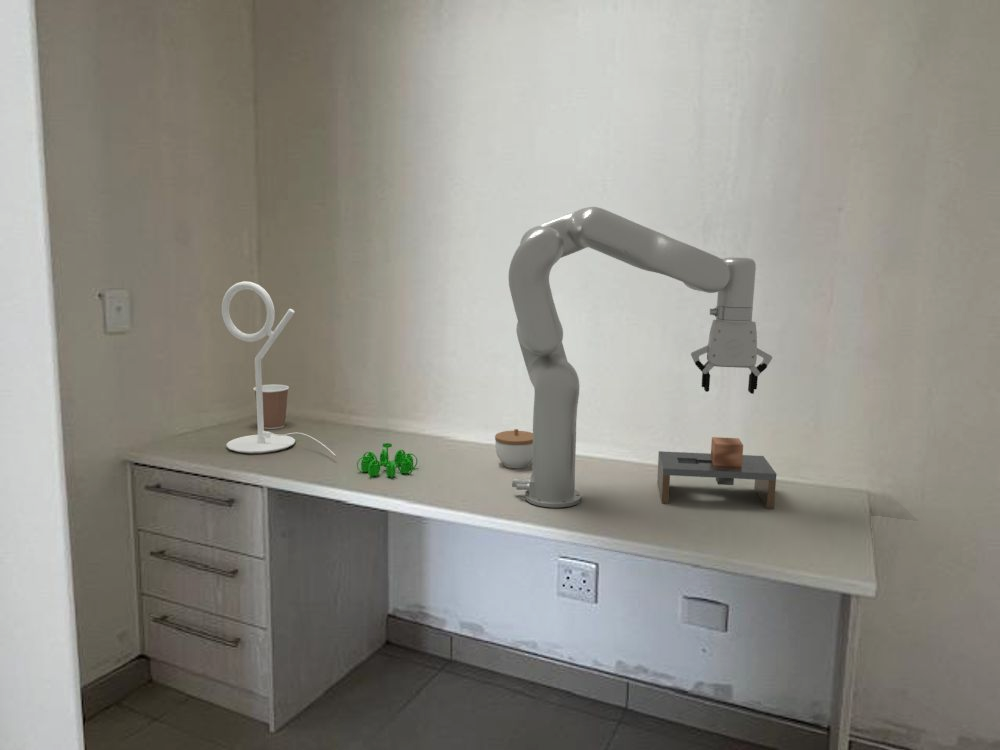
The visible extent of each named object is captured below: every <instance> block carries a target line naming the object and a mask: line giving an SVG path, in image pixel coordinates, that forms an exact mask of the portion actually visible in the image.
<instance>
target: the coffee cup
mask: <svg viewBox="0 0 1000 750" xmlns="http://www.w3.org/2000/svg"><path fill="white" fill-rule="evenodd" d="M289 388H290V387H289V385H285V384H262V396H263V420H264V430H277V429H282V428H284V427H285V424H286V418H287V417H286V415H287V407H288V406H287V405H288V395H289V392H288V390H289ZM252 389H253V390H252V391H254V396H255V397H254V398H256V386H254V387H253V388H252Z"/></svg>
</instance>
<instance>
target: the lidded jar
mask: <svg viewBox="0 0 1000 750" xmlns="http://www.w3.org/2000/svg"><path fill="white" fill-rule="evenodd" d="M494 439H495V440H494V441H495V452H496V455H497V457H498V459H499V461H500V463H502V464H503V466H504V467H506V468H509V469H523V468H527V467H528V465H529V464H530V463H531V462H532V457H533V432H530V431H524V430H519V428H514V430H505V431H499V432H497V433H496V434H495V435H494Z"/></svg>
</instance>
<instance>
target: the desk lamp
mask: <svg viewBox="0 0 1000 750" xmlns="http://www.w3.org/2000/svg"><path fill="white" fill-rule="evenodd" d="M243 290H250V291H252V292H255V293H256V294H257V295H259V296H260V298H261V299H262V301H263V303H264V305H265V310H266V318H265V323H264V324H263V326H262V328H261V329H260V330H259V331H256V332H255V333H245V332H243V331H241V330H240V329H239V328H238V327H236V325H235V324H234V322H233V320H232V318H231V315H230V305H231V301H232V299H233V297H234V296H235V295H236V294H237V293H238V292H240V291H243ZM295 313H296V312H295V310H294V309H292V308H289V309H288V310H287V311H286V313H285V314H284V315H283V317H282V319H281V320H280V321H279V323H278V325H277V326H276V327H275V328H274V330H272V328H273V326H274V322H275V318H276V317H275V315H276V313H275V305H274V302H273V300H272V298H271V295H270V294H269V293H268V292H267V290H266V289H265V288H264V287H262V286H261V285H260V284H258V283H255V282H252V281H247V280H246V281H245V280H244V281H241V282H236V283H235V284H233V285H232V286H230V287H229V288H228V289H227V291H226V292H225V293H224V296H223V297H222V302H221V317H222V320H223V323H224V325H225V328H226V329H227V330H228V331H229V332H230V334H231V335H232V336H234V337H235V338H236V339H238V340H240V341H244V342H248V343H249V342H250V343H252V342H258V341H260V340H261V339H263V338H265V337H266V336H267V337H268V339H267V340H266V341H265V342H264V344H263V345H262V347H261V348H260V350H259V351H258V353H257V354H256V356H255V358H254V374H255V378H254V379H255V387H256V397H255V402H256V416H257V417H256V421H257V424H256V425H257V434H252V435H244V436H240V437H237V438H233V439H232V440H229V441H228V442H227V443H226V445H225V446H226V448H227V449H228V450H230V451H234V452H237V453H242V454H251V455H252V454H266V453H267V454H268V453H274V452H275V453H276V452H278V451H282V450H285V449H287V448H289V447H291V446H293V445H295V442H296V439H295V438H293V436H289V435H296V434H297V435H298V434H299V435H302V436H303V435H304V436H306V437H308V438H311V439H313V440H314V441H316V442H317V443H319V444H320V445H321V446H323V447H324V448H325V449H327V450H328V451H329V453H331V454H332V455H333V456H334V457H335V458H336V457H337V455H336V454H335V453H334V452H333V451H332V450H331V449H330V448H329V447H327V445H325V444H323V443H322V442H321V441H319V440H318V439H316V438H315V437H312V436H311V435H308V434H305V433H303V432H297V431H296V432H290V433H285V434H276V433H273V432H271V431H268V430H265V429H264V420H263V396H262V385H263V380H262V379H263V377H262V375H263V374H262V360H263V358H264V357H265V355H266V353H267V352H268V351H269V349H270V348H271V347H272V345H274V342H275V341H276V340H277V338H278V337H279V336H280V334H281V333H282V331H283V330H284V328H285V327H286V326H287V324H288V323H289V322H290V320H291V318H292V317H293V315H294V314H295Z"/></svg>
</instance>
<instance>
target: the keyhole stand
mask: <svg viewBox="0 0 1000 750" xmlns="http://www.w3.org/2000/svg"><path fill="white" fill-rule="evenodd" d="M671 476H677V477H693V478H694V477H695V478H697V477H698V478H715V479H716V478H734V480H735V479H737V480H738V479H739V480H743V479H744V480H754V487H753V489H754V490H755V492H756V494H757V495H758V496H759V498H760V500H761V502H762V504H763V505H764V507H765V509H766V510H775V499H776V498H775V497H776V495H775V494H776V488H777V487H776V485H777V473H776V471H775V470H774V469H773V467H772V465H771V464H770V463H769V462H768V460H767V459H766V458H765V456H764V455H750V454H749V455H748V454H743V457H742V467H731V466H714V465H713V462H712V460H711V453H707V452H706V453H704V452H703V453H702V452H687V451H686V452H684V451H682V452H680V451H658V457H657V478H656V479H657V480H656V484H657V490H658V494H659V497H660V501H661V502H660V503H661V504H669V502H670V481H671V478H670V477H671Z"/></svg>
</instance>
